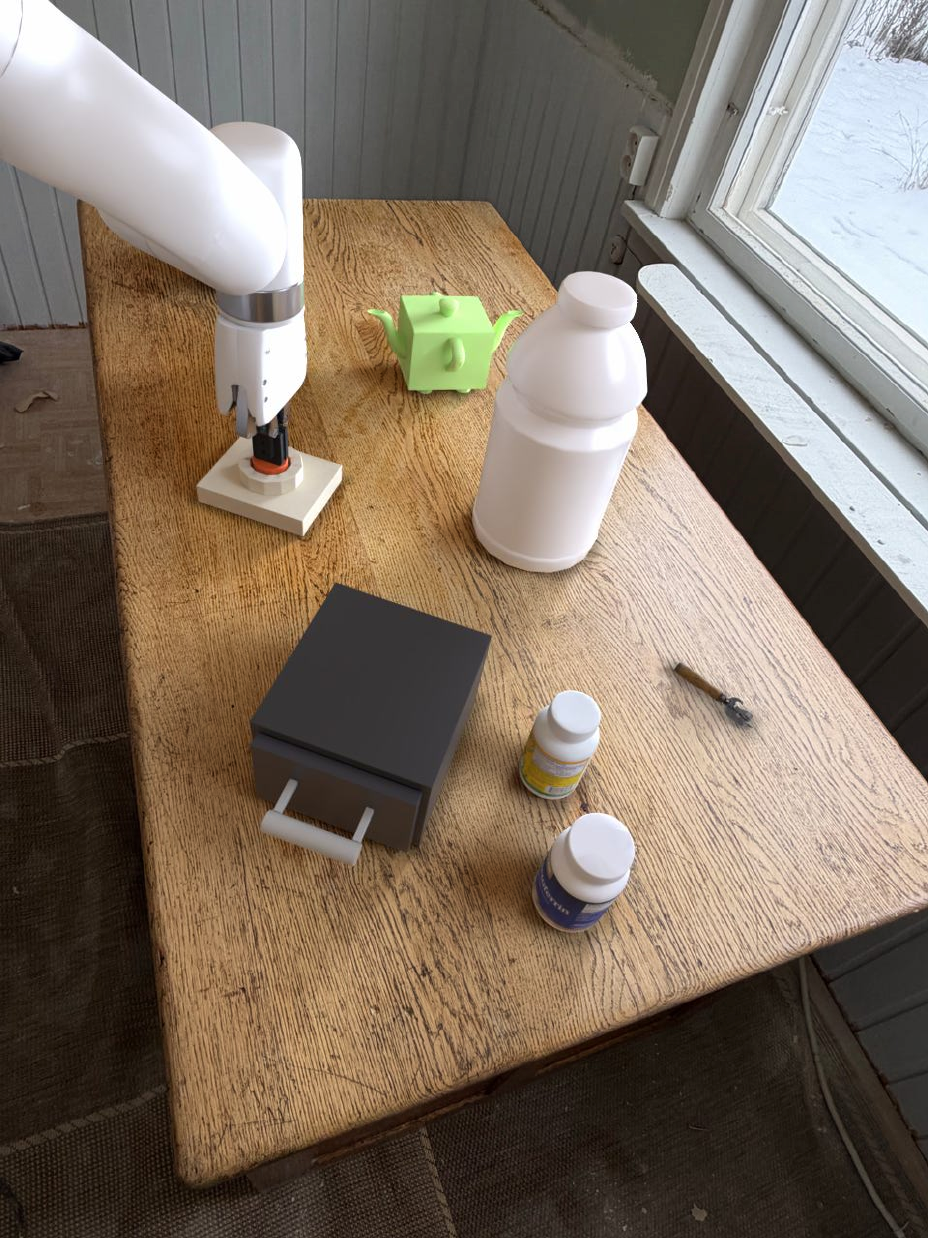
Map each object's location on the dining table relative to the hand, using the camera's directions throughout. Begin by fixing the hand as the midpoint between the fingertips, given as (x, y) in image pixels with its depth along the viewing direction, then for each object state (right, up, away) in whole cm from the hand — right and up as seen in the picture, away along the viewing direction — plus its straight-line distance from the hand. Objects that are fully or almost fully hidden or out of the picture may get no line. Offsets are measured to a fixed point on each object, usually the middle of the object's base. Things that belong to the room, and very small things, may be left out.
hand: (271, 457), depth 81 cm
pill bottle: (+28, -39, -21) cm, 52 cm away
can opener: (+44, -25, -7) cm, 51 cm away
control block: (-1, -3, +3) cm, 5 cm away
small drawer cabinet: (+12, -27, -15) cm, 34 cm away
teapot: (+17, +15, +22) cm, 31 cm away
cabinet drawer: (+11, -30, -18) cm, 37 cm away
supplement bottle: (+27, -30, -14) cm, 43 cm away
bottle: (+28, -7, +5) cm, 29 cm away
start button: (0, -1, +1) cm, 2 cm away
